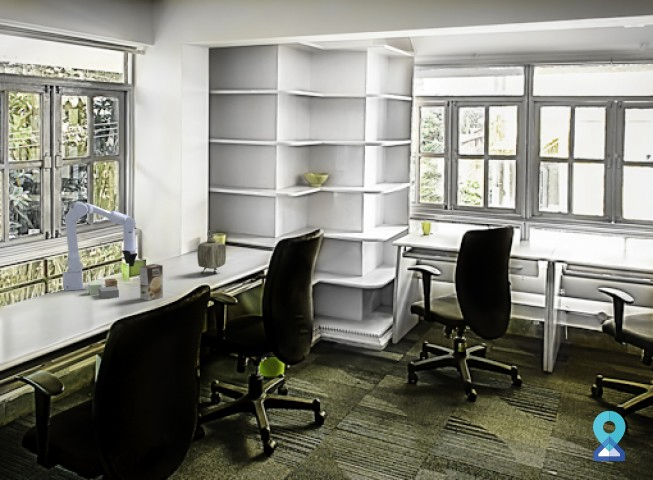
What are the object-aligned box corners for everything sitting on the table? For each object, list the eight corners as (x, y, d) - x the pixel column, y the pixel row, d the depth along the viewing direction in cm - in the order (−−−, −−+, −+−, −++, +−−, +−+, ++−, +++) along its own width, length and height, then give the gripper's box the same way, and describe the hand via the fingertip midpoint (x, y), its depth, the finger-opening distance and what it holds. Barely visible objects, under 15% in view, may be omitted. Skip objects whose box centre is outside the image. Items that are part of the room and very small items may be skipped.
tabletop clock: (215, 270, 415) (215, 227, 411) (227, 272, 410) (227, 229, 406) (197, 274, 404) (197, 230, 399) (209, 276, 399) (208, 232, 394)
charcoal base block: (102, 299, 348) (101, 291, 347) (98, 295, 355) (98, 287, 354) (119, 297, 352) (118, 289, 351) (115, 294, 359) (115, 286, 358)
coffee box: (149, 301, 346) (148, 268, 343) (140, 298, 349) (139, 266, 346) (163, 297, 353) (162, 265, 350) (154, 295, 357) (153, 263, 354)
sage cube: (90, 295, 354) (90, 285, 354) (88, 292, 359) (88, 283, 358) (101, 294, 357) (100, 284, 356) (99, 292, 361) (98, 282, 360)
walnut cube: (107, 291, 363) (107, 281, 362) (105, 289, 367) (105, 279, 366) (117, 290, 365) (117, 280, 364) (115, 288, 370) (115, 278, 369)
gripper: (140, 241, 371) (140, 267, 373) (133, 236, 383) (134, 261, 386) (126, 242, 367) (127, 268, 370) (120, 237, 380) (120, 262, 382)
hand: (129, 265), depth 377 cm, fingers open, 7 cm apart
